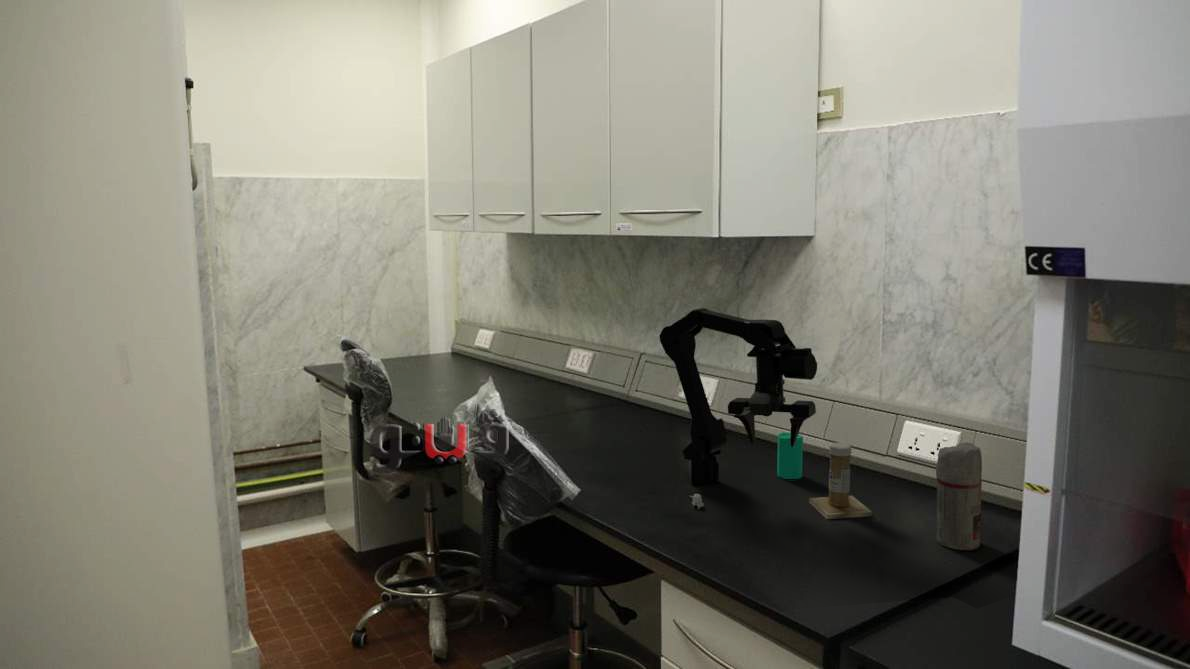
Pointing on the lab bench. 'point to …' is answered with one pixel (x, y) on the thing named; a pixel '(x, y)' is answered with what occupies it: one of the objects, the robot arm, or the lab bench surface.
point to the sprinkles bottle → (839, 474)
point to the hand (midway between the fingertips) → (772, 445)
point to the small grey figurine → (697, 500)
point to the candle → (789, 456)
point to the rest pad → (840, 508)
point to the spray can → (959, 496)
